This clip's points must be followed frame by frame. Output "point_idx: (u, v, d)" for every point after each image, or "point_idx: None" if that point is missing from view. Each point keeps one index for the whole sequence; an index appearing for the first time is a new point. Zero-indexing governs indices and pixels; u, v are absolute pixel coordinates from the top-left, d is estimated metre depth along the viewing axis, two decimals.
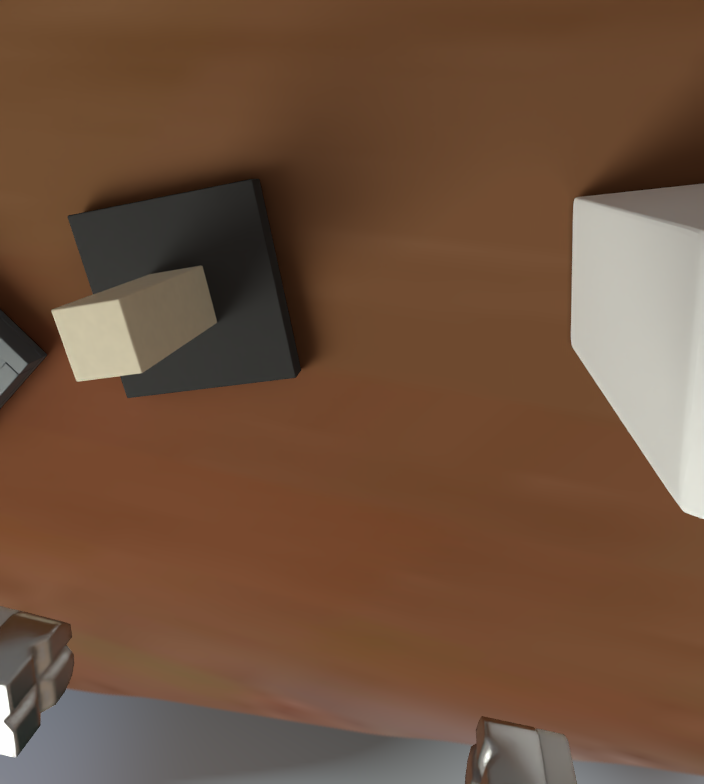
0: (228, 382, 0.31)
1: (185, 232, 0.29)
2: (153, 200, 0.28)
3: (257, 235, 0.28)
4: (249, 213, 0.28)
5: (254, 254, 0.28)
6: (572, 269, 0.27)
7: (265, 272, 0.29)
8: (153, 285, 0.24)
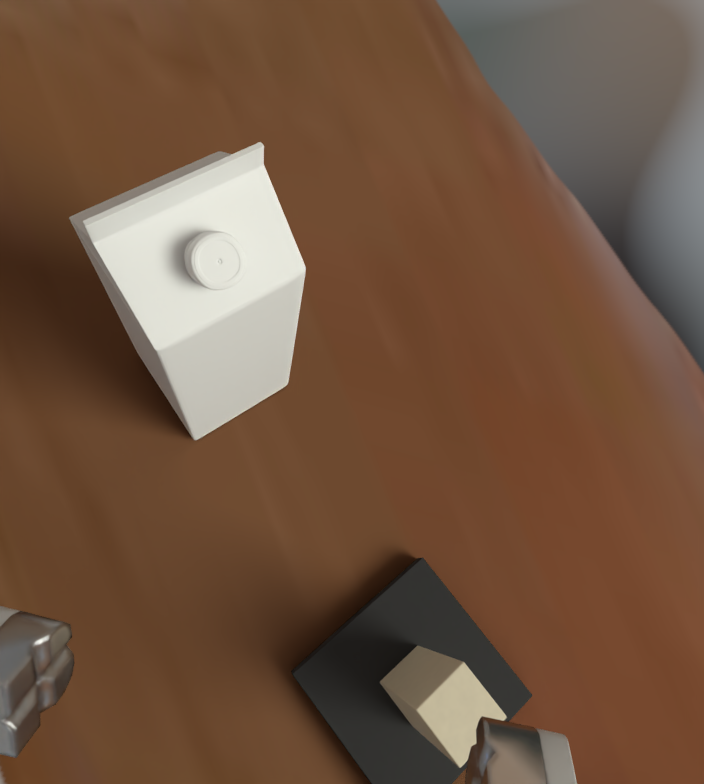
0: (460, 610, 0.35)
1: (361, 710, 0.32)
2: (351, 752, 0.31)
3: (331, 646, 0.33)
4: (318, 662, 0.33)
5: (347, 642, 0.33)
6: (238, 414, 0.37)
7: (355, 625, 0.34)
8: (401, 698, 0.28)
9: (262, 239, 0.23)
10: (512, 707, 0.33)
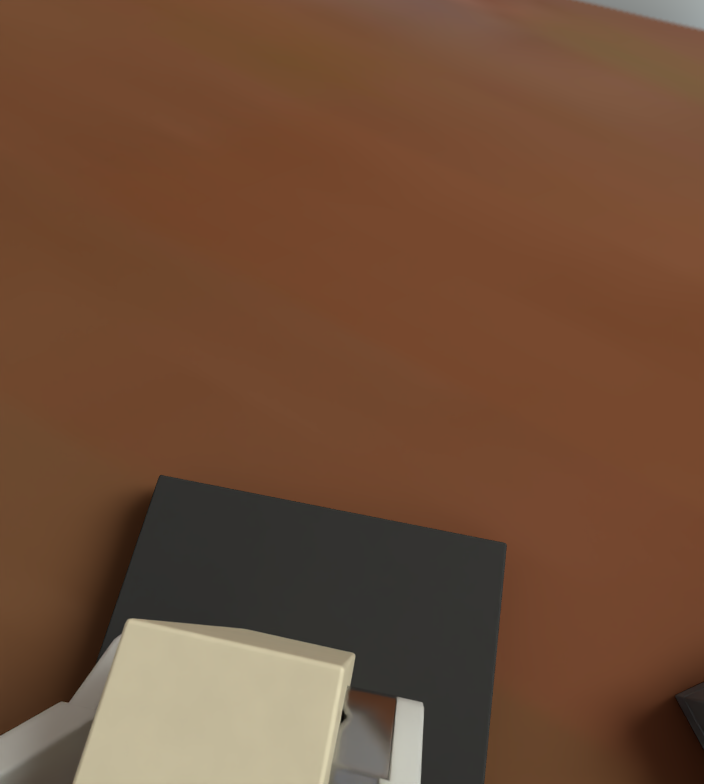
0: (284, 506, 0.16)
1: None
2: None
3: None
4: None
5: None
6: None
7: None
8: None
9: None
10: (487, 592, 0.15)
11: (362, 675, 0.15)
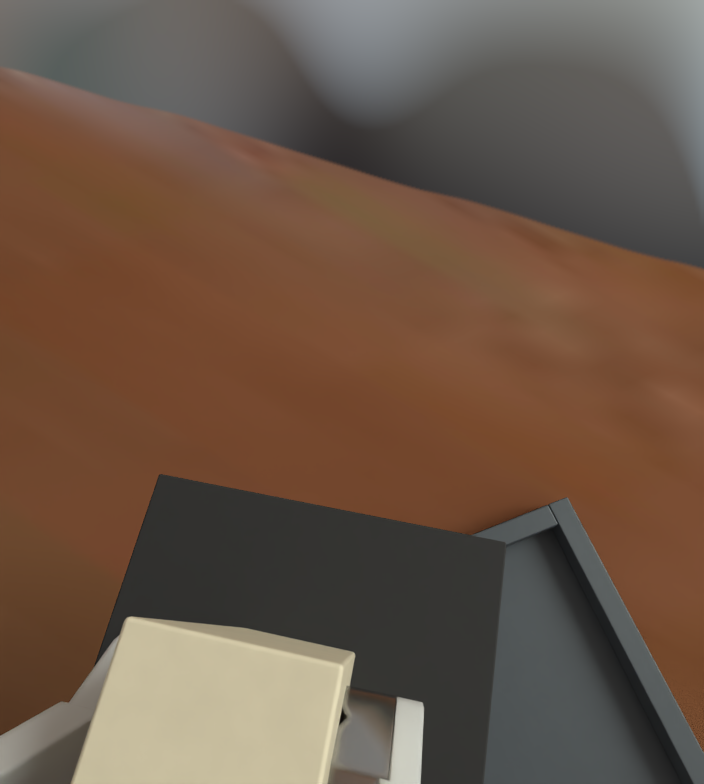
0: (283, 505, 0.16)
1: None
2: None
3: None
4: None
5: None
6: None
7: None
8: None
9: None
10: (487, 591, 0.15)
11: (362, 674, 0.15)
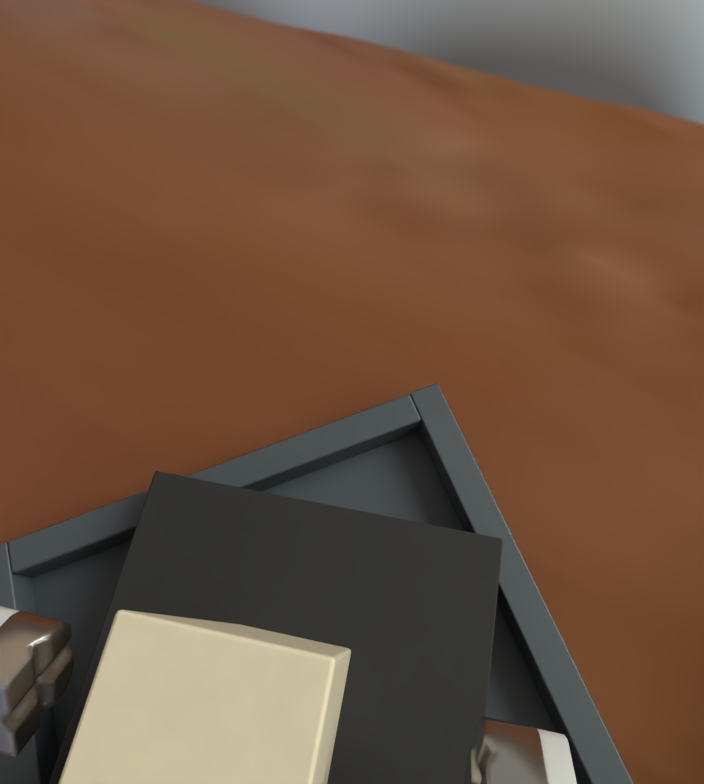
0: (280, 502, 0.16)
1: None
2: None
3: None
4: None
5: None
6: None
7: None
8: None
9: None
10: (483, 588, 0.15)
11: (358, 670, 0.14)
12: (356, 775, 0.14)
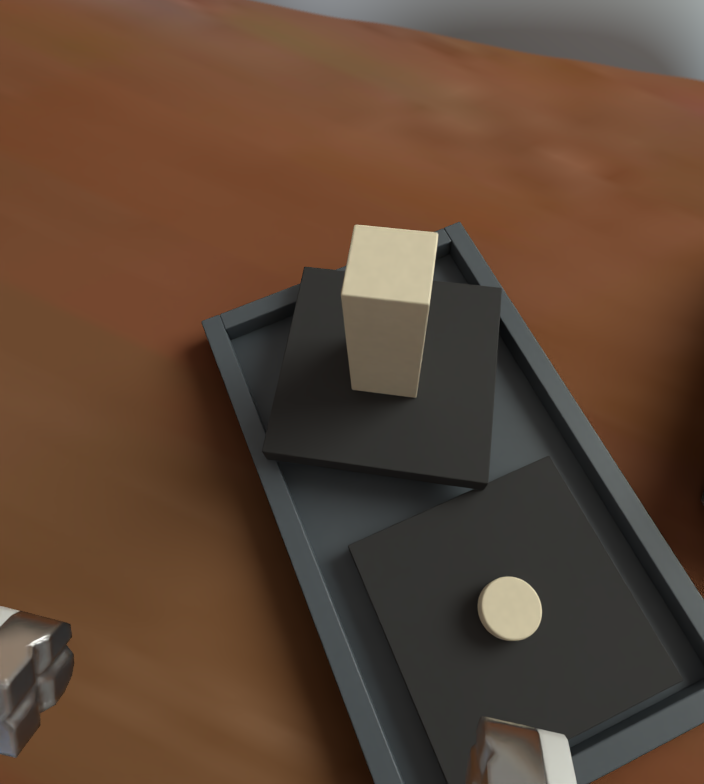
0: None
1: (355, 425, 0.26)
2: (376, 466, 0.25)
3: (280, 400, 0.27)
4: (279, 421, 0.26)
5: (292, 384, 0.27)
6: None
7: (289, 365, 0.27)
8: (346, 334, 0.22)
9: None
10: (492, 310, 0.28)
11: (427, 350, 0.27)
12: (431, 393, 0.26)
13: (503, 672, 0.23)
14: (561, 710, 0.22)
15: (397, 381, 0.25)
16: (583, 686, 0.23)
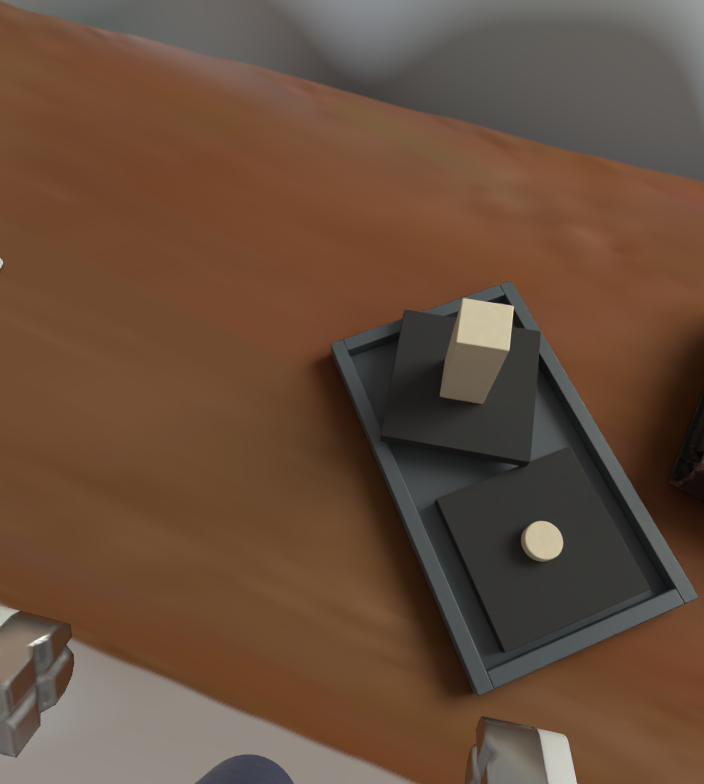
0: (455, 319, 0.42)
1: (442, 420, 0.39)
2: (457, 448, 0.39)
3: (391, 401, 0.40)
4: (391, 416, 0.39)
5: (399, 391, 0.40)
6: None
7: (396, 378, 0.41)
8: (450, 363, 0.35)
9: None
10: (534, 346, 0.41)
11: None
12: (492, 401, 0.40)
13: (536, 580, 0.36)
14: (573, 604, 0.36)
15: (473, 393, 0.38)
16: (587, 590, 0.36)
